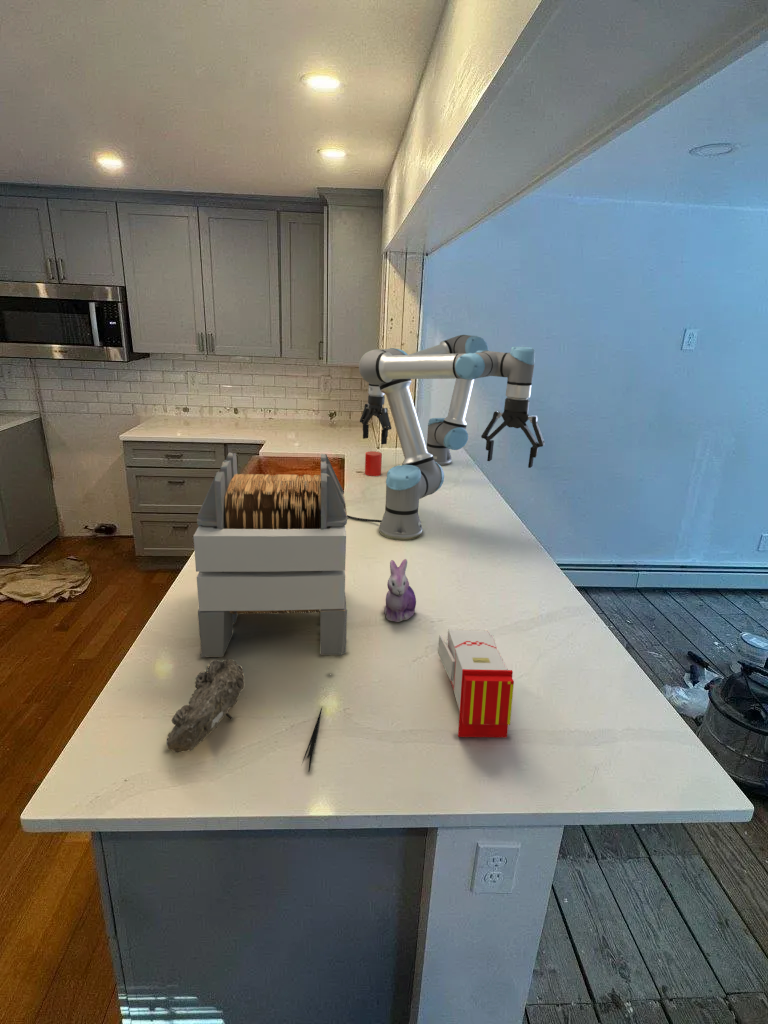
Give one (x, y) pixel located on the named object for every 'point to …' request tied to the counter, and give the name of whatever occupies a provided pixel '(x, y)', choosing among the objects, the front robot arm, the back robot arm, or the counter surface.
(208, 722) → the fossil
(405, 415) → the front robot arm
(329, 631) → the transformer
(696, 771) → the counter surface
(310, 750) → the feather
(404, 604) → the figurine
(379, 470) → the tin
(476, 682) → the toy
